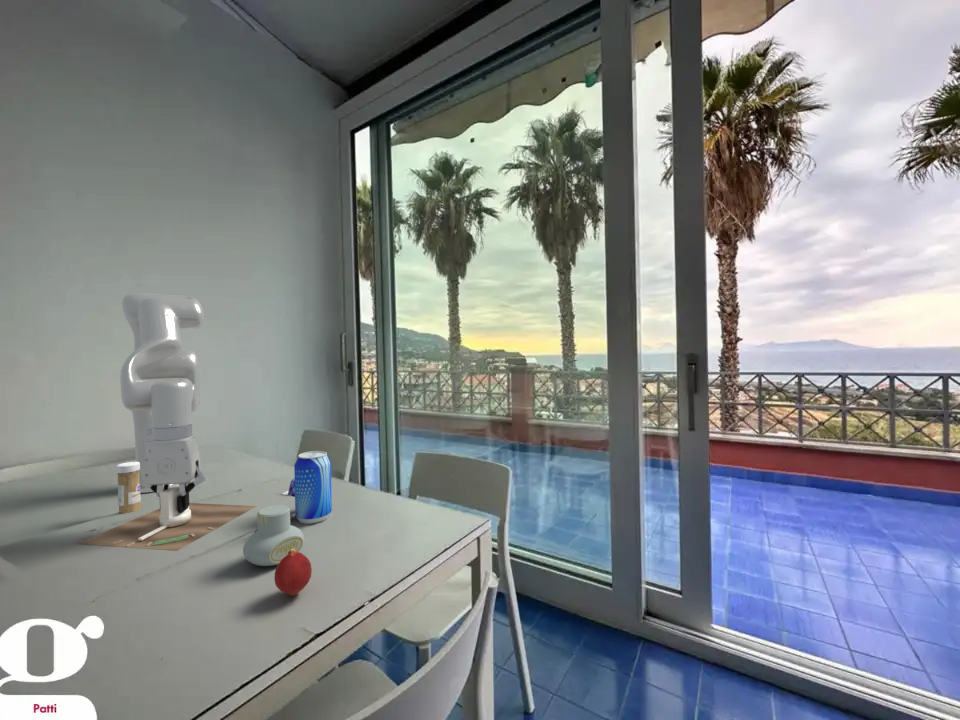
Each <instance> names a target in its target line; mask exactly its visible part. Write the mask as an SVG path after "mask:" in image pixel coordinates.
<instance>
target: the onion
mask: <svg viewBox="0 0 960 720" xmlns="http://www.w3.org/2000/svg"><path fill="white" fill-rule="evenodd" d="M312 568H313V567H312V563H311V561H310V559H309V558H308V557H307V556H306V555H305V554H303V553H301V552H300V551H299V552H297V551H296V550H295V549H291V550H290V551H289V552H288V555H286V556H285V557H284V558H283V559H282V560H281V561H280V563H279V564H278V565H276V568H275V571H274V584H275V587H277V589H278V590H279V591H281V592H283V593H284V594H287V595H289V596H290V597H295V596H296V595H298V594H299V593H300V592H301V591H302V590H303V589H304V588H305V587H307V585H308V583H309V582H310V580H311V578H312V573H313V572H312V571H313V569H312Z"/></svg>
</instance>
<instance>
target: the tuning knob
mask: <svg viewBox="0 0 960 720" xmlns="http://www.w3.org/2000/svg"><path fill="white" fill-rule="evenodd" d="M179 495H180V491H179V485H177V486H174V487H172V488H169V489H167V490H165V491H162V492H160V497H159V509H161V515H160V516H159V521H160V526H161V527H160V528H158V529H156V530H154V531H152V532H150V533H148V534H146V535H144V536H142V537H140V538H138V540H143V539H145V538H147V537H149V536H151V535H153V534H155V533H157V532H159V531H161V530H163V529H165V528H166V527H174V526H178V525H182V524H185V523H187V522H189V521H190V520H191V510H190V509H189V507H188V509H186V510H185V511H184V512H182V513H178V508H177V497H178V496H179Z"/></svg>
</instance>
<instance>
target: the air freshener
mask: <svg viewBox="0 0 960 720" xmlns="http://www.w3.org/2000/svg"><path fill="white" fill-rule="evenodd" d="M256 515H257V517H256V519H257V520H256V521H257V524H256V525H257V527H256V529H257V530H256V531H255V532H254V533H252V534H251V535H250V536H249V537H248V538H247V540H246V541H245V543H244V545H243V547H242V549H243V550H242V551H243V552H242V554H243V557H244V558H245V560H247V561H248V562H249V563H251V564H253V565H255V566H258V567H259V566H262V567H270V566H271V567H272V566H278V564H279V563H280V561H281V560H282V559H283V558H284V557H285V556H286V555H288V552H289V551H290V550H291V549H295V550H296V551H297V552H299V553H300V551H301V550H302V548H303V546H304V543H305V536H304V534H303V532H302V531H301V529H300V528H298V527H297V526H295V525H291V509H290V507H289V506H288V505H287V504H275V505H269V506H268V505H267V506H266V507H264V508H261V509H260V510H258V512H257V514H256Z"/></svg>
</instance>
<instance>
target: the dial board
mask: <svg viewBox="0 0 960 720" xmlns="http://www.w3.org/2000/svg"><path fill="white" fill-rule="evenodd" d="M255 508H257V505H242V504H241V505H238V504H222V503H221V504H219V503H218V504H216V503H196V502H195V503H194V502H189V509H190V510H191V520H190V521H189V522H187V523H185V524H182V525H178V526H174V527H166V528H165V529H163V530H161V531H159V532H157V533H155V534H153V535H151V536H149V537H147V538H145V539H143V540H138V538H140V537H142V536H144V535H146V534H148V533H150V532H152V531H154V530H156V529H158V528H160V527H161V526H160V521H159V516H160V515H161V509H160V508H157V509H156V510H155V509H154V510H153V511H151V512H148V513H146V514H144V515H141V516H139V517H136V518H134V519H132V520H129V521H127V522H125V523H122V524H120V525H118V526H115V527H113V528H110V529H107V530H105V531H104V532H101V533H99V534H96V535H93V536H91V537H89V538H86V539H84V540H82V541H80V542H76V545H80V546H81V545H84V546H98V547H99V546H100V547H113V548H114V547H115V548H128V549H129V548H131V549H133V548H134V549H146V550H148V549H149V550H161V551H179V550H181V549H183V548H184V547H187V546H188V545H191V544H192V543H194V542H195V541H197V540H199V539H202V537H205V536H206V535H208V534H210V533H212V532H214V531H215V530H217V529H220V528H221V527H223V526H224V525H226V524H228V523H230V522H232V521H233V520H235V519H237V518H239V517H240V516H243V515H244V514H247V512H249V511H251V510H253V509H255Z"/></svg>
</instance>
